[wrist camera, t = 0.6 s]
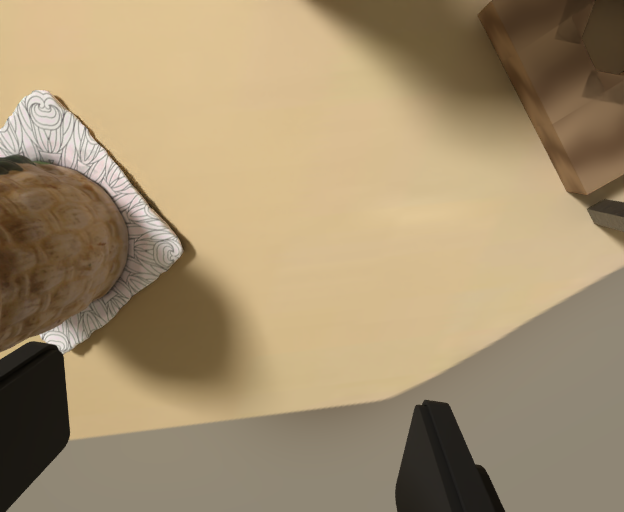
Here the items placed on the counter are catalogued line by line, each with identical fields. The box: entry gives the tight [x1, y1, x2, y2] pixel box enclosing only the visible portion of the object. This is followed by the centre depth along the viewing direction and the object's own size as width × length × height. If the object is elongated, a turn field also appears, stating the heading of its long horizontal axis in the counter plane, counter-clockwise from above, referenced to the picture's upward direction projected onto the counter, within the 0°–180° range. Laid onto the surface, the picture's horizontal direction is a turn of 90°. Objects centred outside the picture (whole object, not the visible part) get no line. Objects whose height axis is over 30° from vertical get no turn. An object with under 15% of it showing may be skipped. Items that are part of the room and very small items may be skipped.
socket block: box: [478, 0, 624, 195], centre depth 35 cm, size 21×18×4 cm
